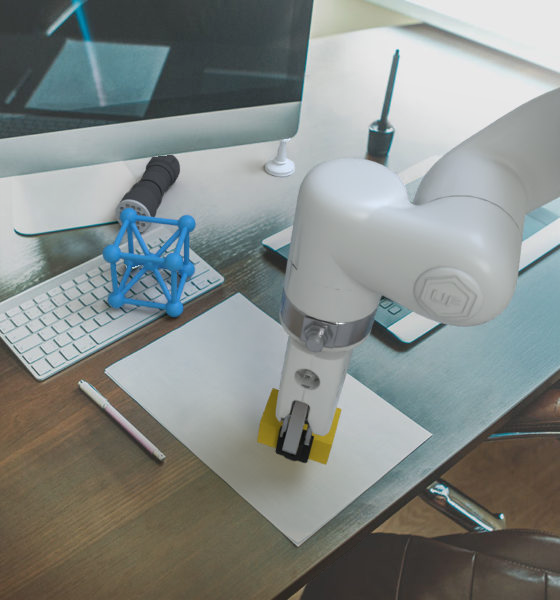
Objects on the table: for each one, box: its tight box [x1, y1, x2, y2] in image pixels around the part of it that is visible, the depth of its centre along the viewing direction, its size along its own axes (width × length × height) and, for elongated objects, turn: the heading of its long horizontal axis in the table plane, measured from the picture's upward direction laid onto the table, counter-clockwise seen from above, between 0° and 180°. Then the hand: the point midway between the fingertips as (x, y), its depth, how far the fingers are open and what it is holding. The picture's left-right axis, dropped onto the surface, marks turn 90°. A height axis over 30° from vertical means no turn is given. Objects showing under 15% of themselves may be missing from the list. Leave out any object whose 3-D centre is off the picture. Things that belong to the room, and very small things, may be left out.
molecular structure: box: [101, 208, 197, 318], centre depth 83 cm, size 10×10×10 cm
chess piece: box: [264, 137, 296, 178], centre depth 104 cm, size 5×5×10 cm
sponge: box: [256, 387, 343, 466], centre depth 64 cm, size 7×4×4 cm, turn 67°
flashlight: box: [114, 154, 181, 233], centre depth 100 cm, size 15×5×5 cm, turn 160°
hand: (298, 434), depth 65 cm, fingers closed on sponge, 4 cm apart
